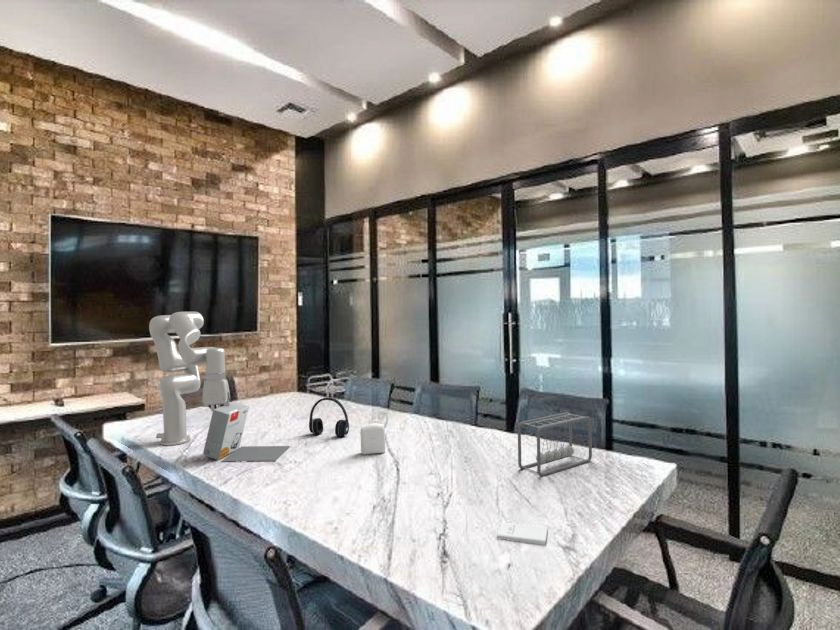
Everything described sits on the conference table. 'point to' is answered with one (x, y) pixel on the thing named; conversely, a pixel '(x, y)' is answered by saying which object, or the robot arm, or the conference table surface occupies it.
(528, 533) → the external hard drive
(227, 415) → the hard drive box
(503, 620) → the conference table surface
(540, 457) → the newton's cradle
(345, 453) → the conference table surface
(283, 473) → the conference table surface
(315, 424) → the headphones
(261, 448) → the rubber mat
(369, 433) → the photo printer
